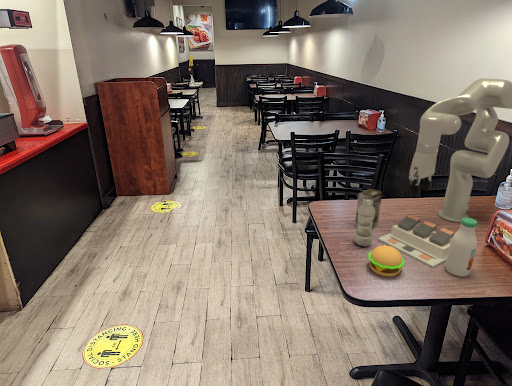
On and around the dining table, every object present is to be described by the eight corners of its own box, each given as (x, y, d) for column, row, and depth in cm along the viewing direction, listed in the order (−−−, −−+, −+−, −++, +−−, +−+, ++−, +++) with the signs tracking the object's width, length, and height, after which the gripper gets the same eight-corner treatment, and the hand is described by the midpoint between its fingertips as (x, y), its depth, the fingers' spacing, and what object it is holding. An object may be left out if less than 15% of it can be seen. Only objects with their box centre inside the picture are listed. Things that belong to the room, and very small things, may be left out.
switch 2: (441, 230, 135) (441, 227, 134) (454, 235, 131) (454, 232, 130) (429, 240, 131) (429, 237, 131) (441, 245, 128) (442, 243, 127)
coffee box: (366, 231, 149) (371, 197, 143) (354, 226, 153) (358, 192, 147) (378, 225, 154) (383, 191, 148) (365, 220, 159) (369, 187, 153)
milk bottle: (458, 279, 117) (472, 227, 110) (439, 267, 124) (451, 217, 116) (474, 274, 120) (488, 222, 112) (454, 262, 126) (467, 213, 119)
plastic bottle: (372, 249, 135) (378, 202, 128) (354, 247, 136) (359, 201, 129) (370, 241, 141) (376, 196, 134) (353, 239, 142) (358, 194, 135)
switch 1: (409, 216, 145) (409, 214, 145) (420, 221, 142) (420, 218, 141) (397, 225, 142) (397, 223, 142) (408, 230, 138) (408, 228, 138)
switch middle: (425, 223, 140) (425, 220, 139) (436, 228, 136) (437, 225, 135) (412, 232, 137) (412, 230, 136) (424, 237, 133) (424, 235, 132)
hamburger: (361, 260, 128) (364, 240, 125) (393, 259, 129) (396, 239, 126) (374, 280, 117) (377, 258, 114) (408, 278, 118) (413, 257, 114)
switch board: (403, 229, 151) (405, 218, 149) (458, 253, 132) (461, 241, 130) (377, 239, 142) (379, 228, 140) (432, 268, 123) (435, 255, 121)
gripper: (431, 143, 139) (423, 185, 146) (404, 149, 130) (397, 193, 137) (449, 147, 133) (440, 190, 140) (422, 154, 124) (414, 200, 131)
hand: (418, 191), depth 138 cm, fingers open, 6 cm apart
